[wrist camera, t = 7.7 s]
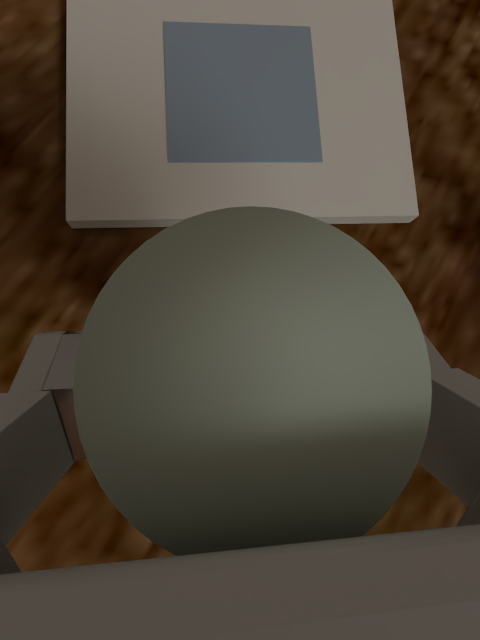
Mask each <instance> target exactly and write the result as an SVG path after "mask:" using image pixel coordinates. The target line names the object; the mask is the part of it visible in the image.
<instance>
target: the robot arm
mask: <svg viewBox="0 0 480 640" xmlns="http://www.w3.org/2000/svg"><path fill="white" fill-rule="evenodd" d="M422 333H423V332H422ZM81 334H82V331H66V332H64V331H56V332H39V333H37V334H36V335H35V336H34V337H33V339H32V341H31V343H30V345H29V347H28V350H27V352H26V354H25V356H24V358H23V361H22V363H21V365H20V367H19V369H18V372H17V374H16V376H15V378H14V380H13V383H12V385H11V387H10V389H9V391H8V393H0V640H480V380H479V379H477V378H476V377H474V376H472V375H470V374H468V373H466V372H464V371H462V370H461V369H459V368H457V369H451V368H450V367H449V365H448V364H447V363H446V361H445V360H444V359H443V358H442V356H441V355H440V354H439V352H438V351H437V350H436V349H435V347H434V346H433V345H432V343H431V342H430V341H429V340H428V338H427V337H426V336H425V335H424V333H423V336H424V339H425V343H426V346H427V351H428V357H429V362H430V368H431V383H432V399H431V414H430V420H429V425H428V430H427V436H426V439H425V442H424V446H423V449H422V452H421V455H420V458H419V460H418V463H419V464H420V465H421V466H422V467H424V468H425V469H426V470H427V471H428V472H429V473H430V474H431V475H433V476H434V477H435V478H436V479H437V480H438V481H439V482H440V483H442V484H443V485H444V486H445V487H446V488H447V489H448V490H450V491H451V492H452V493H453V494H454V495H455V496H456V497H457V498H459V499H460V500H461V501H462V502H463V503H464V504H465V505H466V506H468V507H469V508H468V509H467V511H466V512H465V514H464V515H463V517H462V518H461V520H460V521H459V523H458V524H457V526H456V527H446V528H437V529H427V530H418V531H408V532H399V533H389V534H380V535H370V536H361V537H351V538H342V539H332V540H323V541H313V542H304V543H294V544H285V545H276V546H266V547H257V548H247V549H238V550H229V551H219V552H210V553H200V554H191V555H182V556H172V557H163V558H153V559H144V560H134V561H125V562H115V563H106V564H96V565H87V566H77V567H68V568H58V569H49V570H39V571H30V572H21V571H20V569H19V567H18V566H17V564H16V562H15V561H14V559H13V557H12V556H11V554H10V552H9V551H8V549H7V547H6V545H7V544H8V542H9V541H10V540H11V539H12V537H13V536H14V535H15V534H16V533H17V531H18V530H19V529H20V528H21V526H22V525H23V524H24V523H25V522H26V520H27V519H28V518H29V517H30V516H31V514H32V513H33V512H34V511H35V509H36V508H37V507H38V506H39V505H40V503H41V502H42V501H43V500H44V498H45V497H46V496H47V495H48V494H49V492H50V491H51V490H52V489H53V487H54V486H55V485H56V484H57V483H58V481H59V480H60V479H61V478H62V476H63V475H64V474H65V473H66V472H67V470H68V469H69V468H70V467H71V466H72V464H73V463H74V461H73V460H78V459H87V457H86V455H85V452H84V449H83V446H82V443H81V440H80V437H79V432H78V427H77V422H76V417H75V410H74V394H73V382H74V368H75V360H76V355H77V350H78V345H79V340H80V337H81Z"/></svg>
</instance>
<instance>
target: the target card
mask: <svg viewBox="0 0 480 640" xmlns="http://www.w3.org/2000/svg"><path fill="white" fill-rule="evenodd" d="M245 206H258V207H273V208H279V209H284V210H289V211H294V212H298V213H301V214H304V215H307V216H310V217H313V218H316V219H318V220H320V221H323V222H325V223H327V224H361V223H410V222H411V221H412V220H414V219H415V218H416V217H417V216H419V213H418V205H417V197H416V189H415V181H414V173H413V165H412V157H411V149H410V141H409V133H408V125H407V117H406V109H405V101H404V93H403V85H402V77H401V69H400V61H399V53H398V45H397V37H396V30H395V22H394V14H393V6H392V0H67V38H66V222H67V223H68V224H69V225H70V227H71V228H128V227H170V226H172V225H174V224H176V223H178V222H180V221H182V220H184V219H187V218H190V217H193V216H196V215H199V214H202V213H205V212H209V211H214V210H219V209H224V208H230V207H245Z"/></svg>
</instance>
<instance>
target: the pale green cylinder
mask: <svg viewBox="0 0 480 640" xmlns="http://www.w3.org/2000/svg"><path fill="white" fill-rule="evenodd" d="M73 394H74V410H75V417H76V422H77V427H78V432H79V437H80V440H81V443H82V446H83V449H84V452H85V455H86V457H87V460H88V463H89V465H90V467H91V469H92V471H93V473H94V475H95V477H96V479H97V481H98V482H99V484H100V486H101V488H102V489H103V490H104V492H105V493H106V495H107V496H108V498H109V499H110V500H111V502H112V503H113V505H114V506H115V507H116V508H117V509H118V510H119V512H120V513H121V514H122V515H123V516H124V517H125V518H126V519H127V520H128V521H129V522H130V523H131V524H132V525H133V526H134V527H135V528H136V529H138V530H139V531H140V532H141V533H143V534H144V535H145V536H146V537H148V538H149V539H150V540H151V541H153V542H154V543H156V544H158V545H159V546H161V547H163V548H164V549H166V550H168V551H169V552H171V553H173V554H174V555H177V556H182V555H191V554H200V553H210V552H219V551H229V550H238V549H247V548H257V547H266V546H276V545H285V544H294V543H304V542H313V541H323V540H332V539H342V538H351V537H361V536H363V535H364V534H365V533H366V532H367V531H368V530H369V529H370V528H371V527H373V526H374V525H375V524H376V523H377V522H378V521H379V520H380V519H381V518H382V517H383V516H384V515H385V513H386V512H387V511H388V510H389V509H390V508H391V506H392V505H393V504H394V503H395V502H396V500H397V499H398V497H399V496H400V494H401V492H402V491H403V489H404V488H405V486H406V485H407V483H408V481H409V480H410V478H411V475H412V473H413V471H414V469H415V467H416V465H417V463H418V460H419V458H420V455H421V452H422V449H423V446H424V442H425V439H426V436H427V430H428V425H429V420H430V414H431V399H432V383H431V368H430V362H429V357H428V351H427V346H426V343H425V339H424V336H423V333H422V330H421V327H420V324H419V321H418V319H417V317H416V315H415V313H414V310H413V308H412V306H411V304H410V302H409V300H408V299H407V297H406V295H405V294H404V292H403V290H402V289H401V287H400V285H399V284H398V283H397V281H396V280H395V279H394V278H393V276H392V275H391V274H390V272H389V271H388V270H387V269H386V267H385V266H384V265H383V264H382V263H381V262H380V261H379V260H378V259H377V258H376V257H375V256H374V255H373V254H372V253H371V252H370V251H368V250H367V249H366V248H365V247H363V246H362V245H361V244H360V243H358V242H357V241H356V240H355V239H353V238H352V237H350V236H348V235H347V234H345V233H344V232H342V231H340V230H339V229H337V228H335V227H334V226H331V225H329V224H327V223H325V222H323V221H320V220H318V219H316V218H313V217H310V216H307V215H304V214H301V213H298V212H294V211H289V210H284V209H279V208H273V207H258V206H245V207H230V208H224V209H219V210H214V211H209V212H205V213H202V214H199V215H196V216H193V217H190V218H187V219H184V220H182V221H180V222H178V223H176V224H174V225H172V226H170V227H168V228H166V229H164V230H162V231H161V232H159V233H158V234H156V235H155V236H153V237H152V238H150V239H149V240H147V241H146V242H145V243H143V244H142V245H141V246H140V247H139V248H138V249H136V250H135V251H134V252H133V253H132V254H130V255H129V256H128V257H127V258H126V260H125V261H124V262H123V263H122V264H121V265H120V266H119V267H118V268H117V269H116V271H115V272H114V273H113V274H112V275H111V277H110V278H109V280H108V281H107V283H106V284H105V286H104V287H103V289H102V290H101V291H100V293H99V295H98V297H97V299H96V301H95V303H94V304H93V306H92V308H91V310H90V312H89V314H88V317H87V320H86V322H85V325H84V328H83V331H82V334H81V337H80V340H79V345H78V350H77V355H76V360H75V368H74V382H73Z"/></svg>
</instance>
